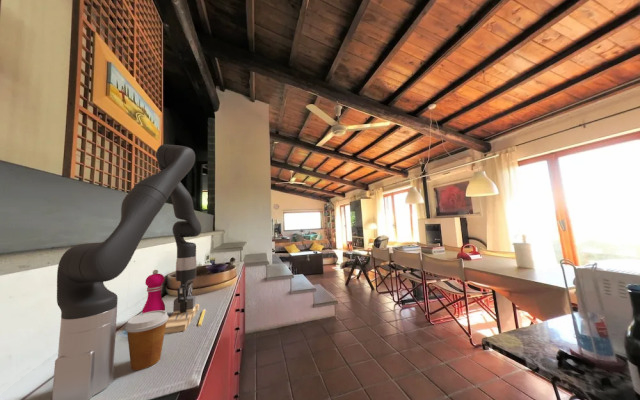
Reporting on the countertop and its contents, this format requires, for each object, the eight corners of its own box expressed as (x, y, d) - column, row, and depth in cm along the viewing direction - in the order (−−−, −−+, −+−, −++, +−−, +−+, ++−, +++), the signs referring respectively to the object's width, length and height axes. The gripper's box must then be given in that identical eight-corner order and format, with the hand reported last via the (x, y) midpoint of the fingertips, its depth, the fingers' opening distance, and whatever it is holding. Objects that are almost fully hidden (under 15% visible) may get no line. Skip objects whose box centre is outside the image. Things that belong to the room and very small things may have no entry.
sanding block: (192, 311, 90) (193, 298, 90) (173, 313, 88) (173, 300, 88) (195, 307, 94) (195, 295, 94) (176, 310, 91) (176, 297, 92)
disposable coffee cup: (144, 376, 54) (146, 325, 55) (112, 373, 56) (115, 323, 57) (175, 353, 63) (176, 310, 65) (147, 351, 65) (149, 309, 66)
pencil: (201, 326, 80) (201, 323, 81) (198, 326, 80) (198, 324, 80) (205, 311, 95) (205, 308, 95) (203, 311, 94) (203, 309, 95)
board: (185, 330, 77) (185, 324, 77) (158, 335, 75) (158, 328, 75) (199, 308, 98) (199, 303, 98) (178, 311, 96) (178, 306, 96)
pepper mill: (169, 318, 88) (170, 267, 91) (154, 326, 81) (156, 271, 83) (152, 318, 89) (154, 268, 91) (136, 326, 82) (138, 272, 84)
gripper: (191, 270, 87) (190, 314, 85) (199, 264, 101) (199, 302, 99) (170, 272, 85) (168, 318, 83) (181, 265, 99) (180, 305, 97)
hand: (185, 309), depth 91 cm, fingers open, 4 cm apart
